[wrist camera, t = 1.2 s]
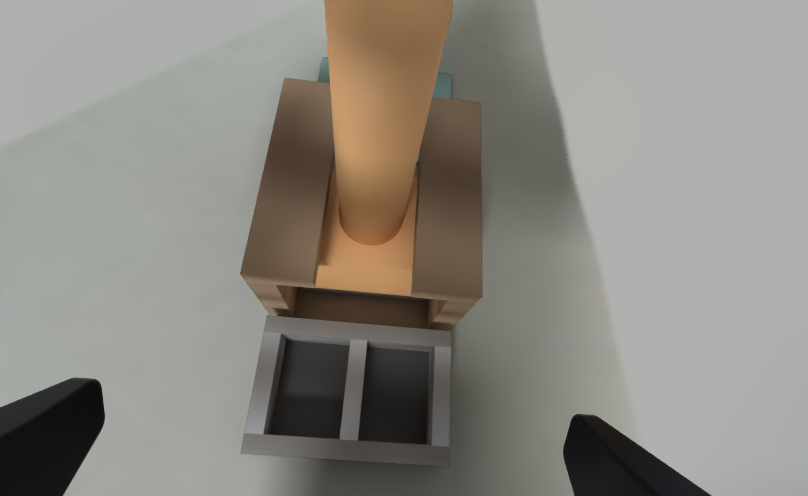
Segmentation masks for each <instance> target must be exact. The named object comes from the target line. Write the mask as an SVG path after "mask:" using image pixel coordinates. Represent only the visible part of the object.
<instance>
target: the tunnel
mask: <svg viewBox="0 0 808 496" xmlns="http://www.w3.org/2000/svg"><path fill="white" fill-rule="evenodd" d="M451 75H452V74H445V73H438V75H437V79H436V83H435V87H434V92H433V96H432V100H431V104H430V109H429V113H428V117H427V121H426V125H425V130H424V134H423V138H422V142H421V147H420V151H419V155H418V159H417V163H419V164H418V182H417V199H416V216H415V233H414V250H413V267H412V284H411V297H415V298H426V299H429V308H428V329H419V328H408V327H396V326H385V325H373V324H361V323H350V322H338V321H327V320H315V319H304V318H292V317H293V314H294V308H295V302H296V296H297V290H298V287H307V288H315V285H316V278H317V271H318V265H319V258H320V252H321V245H322V238H323V232H324V225H325V219H326V212H327V205H328V199H329V192H330V186H331V179H332V172H333V166H334V159H335V149H334V135H333V120H332V105H331V91H330V76H329V61H328V58H324V57H322V62H321V67H320V73H319V78H318V82H314V81H306V80H299V79H291V78H284V82H283V87H282V91H281V95H280V100H279V104H278V109H277V113H276V118H275V122H274V126H273V131H272V135H271V140H270V144H269V148H268V153H267V157H266V162H265V166H264V171H263V175H262V179H261V184H260V188H259V193H258V197H257V201H256V206H255V210H254V215H253V219H252V223H251V228H250V232H249V237H248V241H247V246H246V250H245V254H244V259H243V263H242V268H241V272H240V274H241V276H242V277H243V278H244V280H245V281H246V283H247V284H248V285H249V287H250V288H251V289H252V291H253V292H254V294H255V295H256V296H257V298H258V299H259V300H260V302H261V303H262V304H263V306H264V307H265V309H266V310H267V311H268V313H269V314H270V315H279V316H269V315H267V318H266V323H265V328H264V333H263V338H262V344H261V349H260V354H259V359H258V364H257V370H256V375H255V380H254V385H253V390H252V396H251V401H250V406H249V411H248V416H247V422H246V427H245V432H244V437H243V442H242V448H241V453H240V454H255V455H271V456H287V457H303V458H319V459H335V460H351V461H367V462H382V463H398V464H414V465H430V466H446V467H449V439H450V387H451V335H452V331H442V330H450V329H451V328H452V327H453V326H454V325H455V324H456V323H457V322H458V321H459V320H460V319H461V318H462V317H463V316H464V315H465V314H466V313H467V312H468V311H469V310H470V309H471V308H472V307H473V306H474V305H475V303H476V302H477V301H478V300H479V299H480V298H481V297H482V210H481V105H480V103H479V102H471V101H463V100H455V99H451ZM281 316H290V317H281ZM431 329H440V330H431Z"/></svg>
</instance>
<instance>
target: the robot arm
mask: <svg viewBox="0 0 808 496" xmlns="http://www.w3.org/2000/svg"><path fill="white" fill-rule="evenodd" d="M104 420H105V412H104V404H103V395H102V387H101V384H100V382H99V381H98V380H96V379H89V378H71V379H68V380H66V381H63V382H61V383H59V384H56V385H54V386H51V387H49V388H46V389H44V390H42V391H39V392H37V393H34V394H32V395H29V396H27V397H25V398H22V399H20V400H17V401H15V402H12V403H10V404H8V405H5V406H3V407H0V496H63V495H64V493H65V491H66V490H67V488H68V486H69V485H70V483H71V481H72V479H73V478H74V476H75V474H76V473H77V471H78V469H79V467H80V466H81V464H82V462H83V461H84V459H85V457H86V456H87V454H88V452H89V450H90V449H91V447H92V445H93V444H94V442H95V440H96V438H97V437H98V435H99V433H100V431H101V429H102V427H103V424H104ZM563 455H564V461H565V464H566V468H567V471H568V475H569V478H570V482H571V485H572V489H573V492H574V496H711V495H709V494H708V493H707V492H705V491H704V490H703V489H701V488H700V487H698V486H697V485H695V484H694V483H692V482H691V481H690V480H688V479H687V478H685V477H684V476H682V475H681V474H679V473H678V472H676V471H675V470H674V469H672V468H671V467H669V466H668V465H666V464H665V463H664V462H662V461H661V460H659V459H658V458H656V457H655V456H654V455H652V454H651V453H649V452H648V451H646V450H645V449H644V448H642V447H641V446H639V445H638V444H636V443H635V442H633V441H632V440H631V439H629V438H628V437H626V436H625V435H623V434H622V433H621V432H619V431H618V430H616V429H615V428H613V427H612V426H610V425H609V424H608V423H606V422H605V421H603V420H602V419H600V418H599V417H597V416H595V415H586V414H576V415H574V416H573V418H572V420H571V423H570V427H569V430H568V433H567V437H566V440H565V444H564V449H563Z"/></svg>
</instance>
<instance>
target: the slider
mask: <svg viewBox="0 0 808 496" xmlns="http://www.w3.org/2000/svg"><path fill="white" fill-rule="evenodd" d="M324 3H325V17H326V32H327V47H328V61H329V76H330V91H331V105H332V120H333V135H334V149H335V164H336V167H333V172H332V179H331V186H330V192H329V199H328V205H327V212H326V219H325V225H324V232H323V238H322V245H321V252H320V258H319V265H318V271H317V278H316V285H315V288H326V289H337V290H348V291H359V292H370V293H380V294H391V295H402V296H411V284H412V267H413V250H414V233H415V216H416V199H417V182H418V176H414V172H415V168H416V163H417V159H418V155H419V151H420V147H421V142H422V138H423V134H424V130H425V125H426V121H427V117H428V113H429V109H430V104H431V100H432V96H433V92H434V87H435V83H436V79H437V75H438V70H439V66H440V62H441V58H442V54H443V49H444V45H445V41H446V37H447V32H448V28H449V24H450V20H451V16H452V10H453V1H452V0H324Z"/></svg>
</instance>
